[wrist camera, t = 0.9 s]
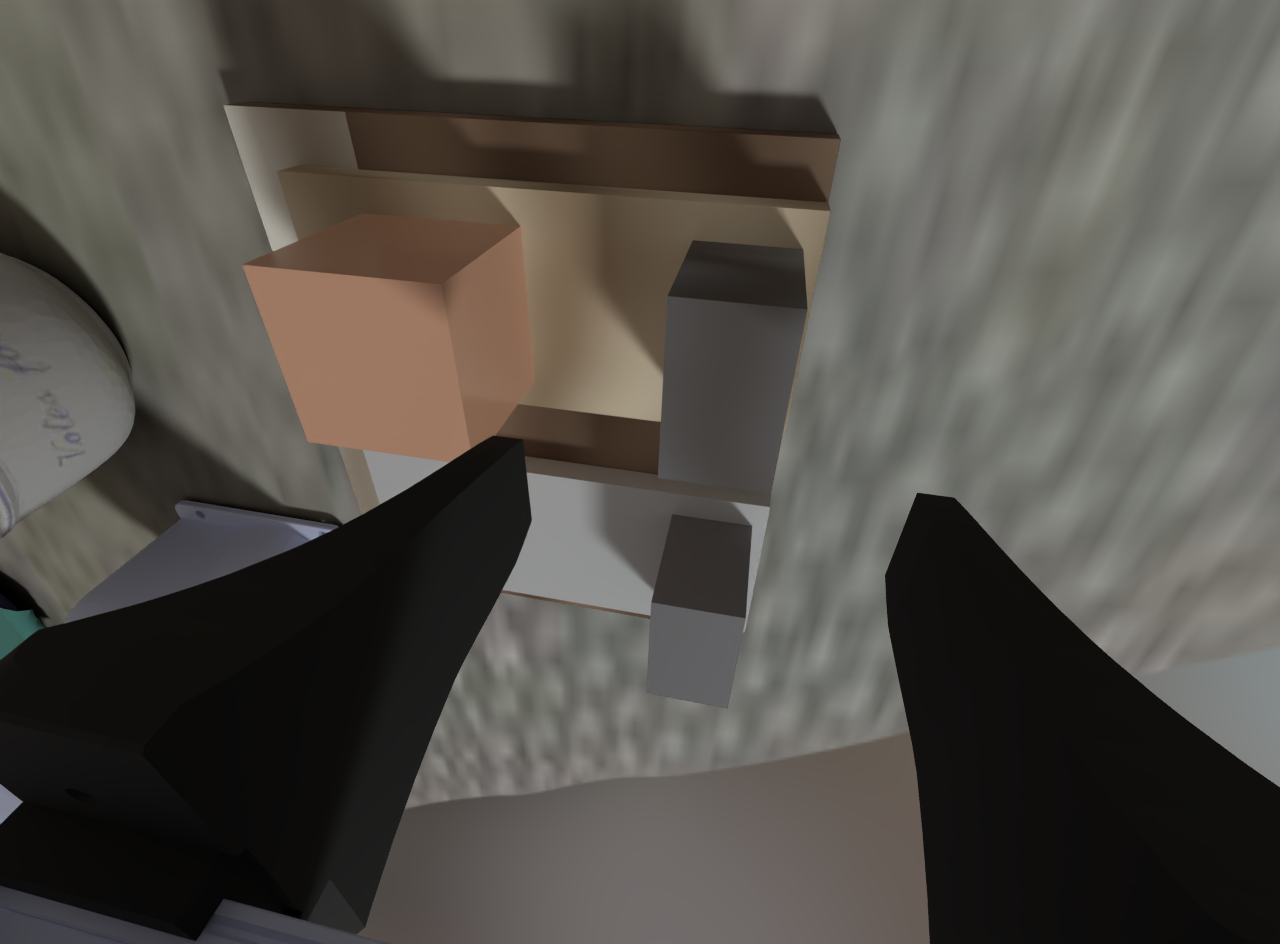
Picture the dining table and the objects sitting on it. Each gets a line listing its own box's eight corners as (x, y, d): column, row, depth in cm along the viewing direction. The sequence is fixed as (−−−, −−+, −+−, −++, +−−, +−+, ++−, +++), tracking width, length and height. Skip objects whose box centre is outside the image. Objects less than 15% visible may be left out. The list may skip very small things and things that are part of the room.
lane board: (391, 557, 31) (380, 571, 30) (247, 102, 19) (223, 105, 18) (743, 617, 28) (741, 635, 27) (838, 133, 16) (841, 139, 15)
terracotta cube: (398, 364, 21) (308, 441, 17) (362, 213, 18) (242, 265, 14) (534, 380, 20) (473, 465, 16) (520, 226, 17) (441, 284, 13)
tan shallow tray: (357, 369, 23) (257, 447, 18) (298, 165, 18) (151, 205, 14) (784, 421, 20) (783, 525, 16) (828, 202, 16) (842, 263, 12)
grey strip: (411, 557, 29) (345, 649, 24) (376, 435, 24) (289, 520, 20) (746, 613, 26) (738, 726, 22) (770, 490, 22) (766, 599, 18)
